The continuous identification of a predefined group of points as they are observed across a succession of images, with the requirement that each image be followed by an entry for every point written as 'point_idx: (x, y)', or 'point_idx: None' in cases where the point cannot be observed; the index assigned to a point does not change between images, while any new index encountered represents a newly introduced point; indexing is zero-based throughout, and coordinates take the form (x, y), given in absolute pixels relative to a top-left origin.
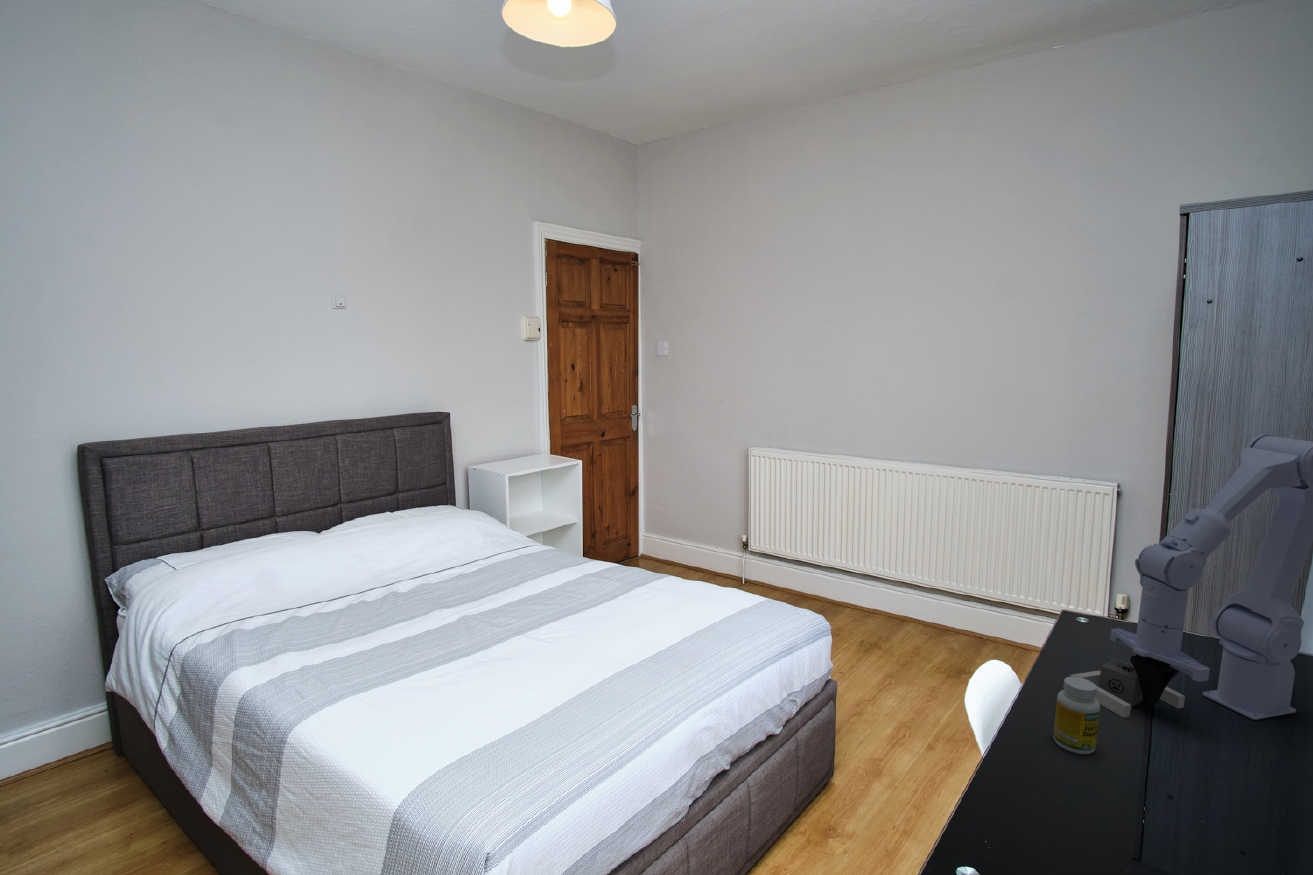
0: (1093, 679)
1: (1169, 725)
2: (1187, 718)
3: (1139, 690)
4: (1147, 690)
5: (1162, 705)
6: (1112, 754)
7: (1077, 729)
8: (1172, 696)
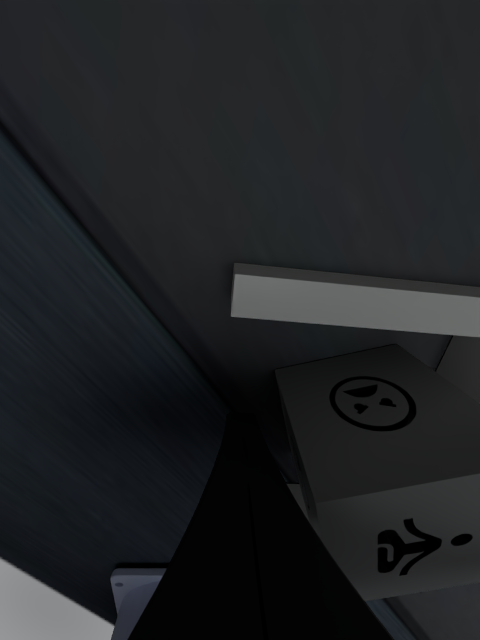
0: None
1: (140, 378)
2: (163, 459)
3: (295, 456)
4: (232, 463)
5: None
6: None
7: None
8: None
